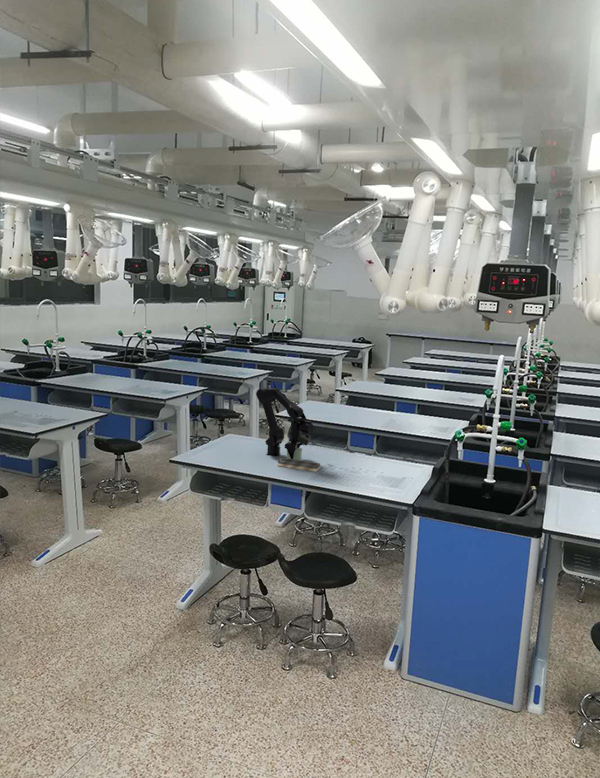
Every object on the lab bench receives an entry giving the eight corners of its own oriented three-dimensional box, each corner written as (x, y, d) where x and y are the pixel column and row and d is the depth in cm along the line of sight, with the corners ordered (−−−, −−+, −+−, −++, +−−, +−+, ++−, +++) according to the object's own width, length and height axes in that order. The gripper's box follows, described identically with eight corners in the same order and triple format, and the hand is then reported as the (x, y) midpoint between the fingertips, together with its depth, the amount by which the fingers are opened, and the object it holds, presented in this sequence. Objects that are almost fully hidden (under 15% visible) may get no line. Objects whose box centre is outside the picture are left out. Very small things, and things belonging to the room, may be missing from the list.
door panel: (286, 459, 324) (287, 447, 322) (287, 458, 326) (288, 446, 324) (300, 461, 321) (300, 449, 320) (301, 460, 324) (301, 448, 322)
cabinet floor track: (277, 465, 311) (277, 461, 311) (282, 461, 320) (282, 457, 319) (316, 471, 305) (316, 467, 305) (320, 467, 314) (320, 462, 313)
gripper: (304, 436, 309) (303, 463, 312) (313, 428, 327) (312, 454, 330) (285, 433, 312) (283, 461, 315) (295, 425, 330) (293, 452, 333)
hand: (294, 457), depth 323 cm, fingers open, 7 cm apart
